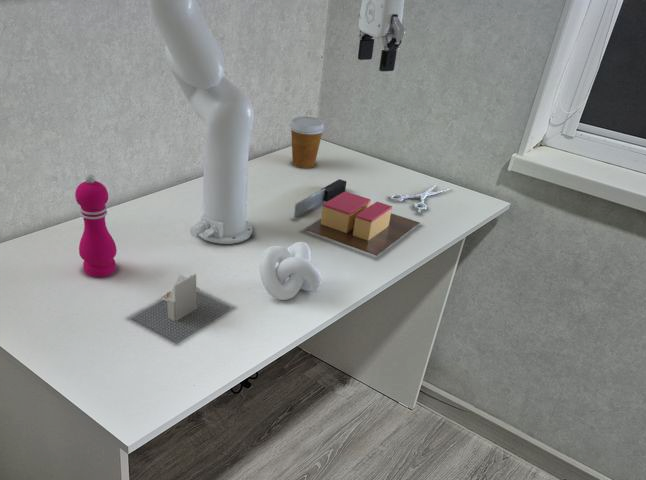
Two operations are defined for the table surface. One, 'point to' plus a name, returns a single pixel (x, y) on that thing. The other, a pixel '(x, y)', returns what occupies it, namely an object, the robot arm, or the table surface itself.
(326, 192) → the knife
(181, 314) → the architectural model
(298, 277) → the white knot sculpture
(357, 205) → the cake
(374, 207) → the cake slice
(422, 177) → the table surface
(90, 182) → the pepper mill
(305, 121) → the disposable coffee cup
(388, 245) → the cake board
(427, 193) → the scissors
